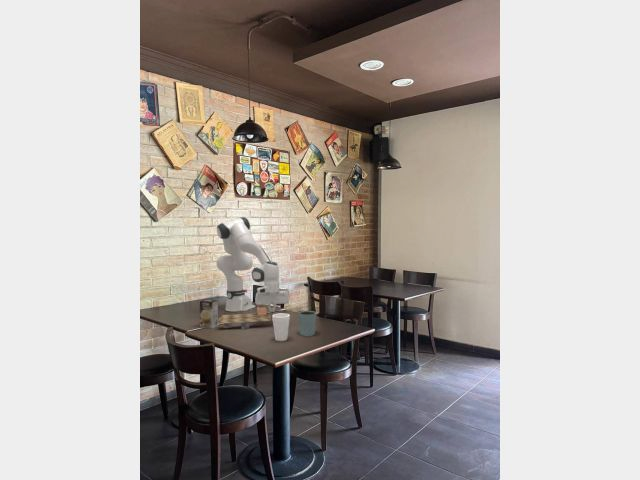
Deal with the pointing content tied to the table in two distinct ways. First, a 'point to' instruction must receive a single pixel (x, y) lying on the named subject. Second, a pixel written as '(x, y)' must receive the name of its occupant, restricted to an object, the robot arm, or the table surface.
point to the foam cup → (281, 326)
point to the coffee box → (208, 313)
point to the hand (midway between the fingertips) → (272, 311)
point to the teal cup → (307, 323)
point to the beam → (242, 319)
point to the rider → (261, 310)
